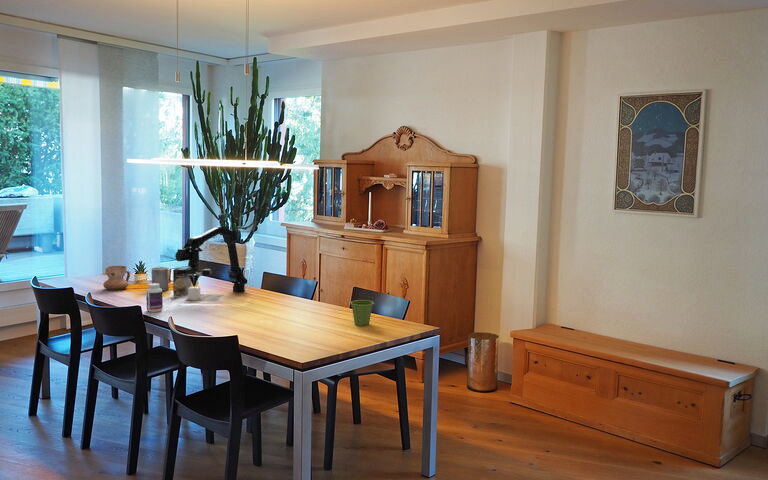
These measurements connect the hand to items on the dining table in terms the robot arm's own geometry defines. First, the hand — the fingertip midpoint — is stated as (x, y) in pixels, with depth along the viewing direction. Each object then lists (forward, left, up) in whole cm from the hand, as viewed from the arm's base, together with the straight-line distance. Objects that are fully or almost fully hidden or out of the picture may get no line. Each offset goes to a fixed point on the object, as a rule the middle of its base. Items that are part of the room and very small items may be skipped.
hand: (194, 286), depth 379 cm
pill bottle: (+14, +27, -8) cm, 32 cm away
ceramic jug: (+56, -33, -8) cm, 66 cm away
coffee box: (+11, -15, -8) cm, 20 cm away
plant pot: (-96, +52, -8) cm, 110 cm away
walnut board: (-5, -4, -8) cm, 10 cm away
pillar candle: (+29, -31, -8) cm, 43 cm away
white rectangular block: (0, 0, -7) cm, 7 cm away
